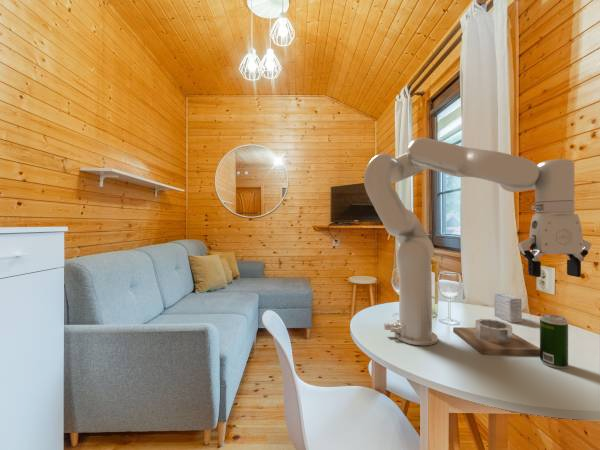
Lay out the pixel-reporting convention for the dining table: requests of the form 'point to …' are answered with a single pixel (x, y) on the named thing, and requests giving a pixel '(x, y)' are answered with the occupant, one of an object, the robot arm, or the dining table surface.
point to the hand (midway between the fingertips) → (554, 276)
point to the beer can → (554, 341)
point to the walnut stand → (496, 344)
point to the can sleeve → (494, 331)
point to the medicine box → (508, 308)
